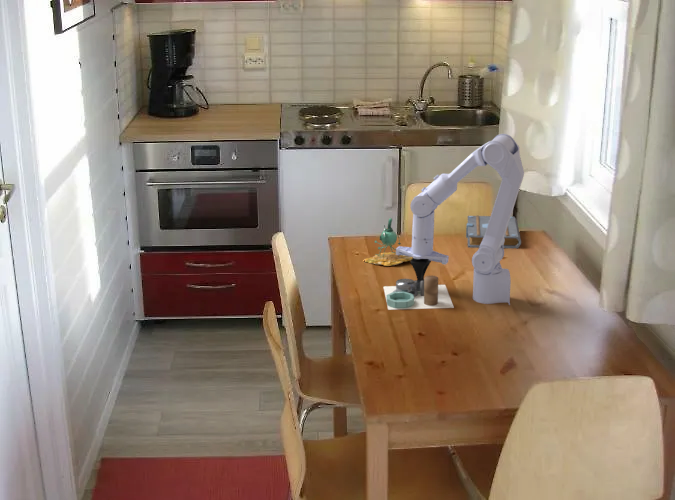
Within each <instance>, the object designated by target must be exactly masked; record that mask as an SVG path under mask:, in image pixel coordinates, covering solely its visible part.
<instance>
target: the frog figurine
mask: <svg viewBox="0 0 675 500" xmlns="http://www.w3.org/2000/svg"><path fill="white" fill-rule="evenodd" d="M392 222H393V218H391V217H390V218H388V223H387V228H386V225H384V226H383V231H382V232H381V234H380V235H379V241H380V242H381V243H380V242H378V240H374V243H375V244H376V243H377V244H378V245H381V246H378V247H377V249H378V250H379V253H375V254H374V256H370V257H369V258H368V257H367V258H364V259H363V261H364V260H365V262H364V263H368V264H371V265H373V264H375V265H379V266H380V265H383V267H384V266H385V267H389V266H395V265H396V266H397V265H399V264H403V262H410V263H411V260H412V259H413V257H410V256H404V255H396V248H394V247H393V246H394V245H395V244H396V243H397V240H398V243H397V244H398V246H401V245H402V243H401V242H400V240H401V239H398V238H400V236H399V235H398V234H397V233H396V231H394V230H393V227H392ZM387 247H389V248H390V251H391V252H386V250H387ZM383 248H384V251H383V252H382V249H383ZM393 250H394V251H393Z"/></svg>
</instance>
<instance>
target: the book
mask: <svg viewBox="0 0 675 500" xmlns="http://www.w3.org/2000/svg"><path fill="white" fill-rule="evenodd" d="M490 217H491V215H477V214H476V215H467V223H466V228H465V229H466V233H465V234H466V235H465V237H466V239H467V248H471V249H472V248H475V249H476V248H477V249H479V247H480V244H481V242H482V240H483V238H484V236H485V233H486V230H487V227H488V223H489V220H490ZM504 239H505V241H504V245H503V248H504V249H512V250H513V249H514V248H516V249H519V248H520V246H521V245H522V239H521V234H520V228H519V225H518V220H517V218H516V217H515V216H511V217H510V220H509V223H508V226H507V230H506V233H505V236H504Z"/></svg>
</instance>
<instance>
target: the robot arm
mask: <svg viewBox="0 0 675 500" xmlns="http://www.w3.org/2000/svg"><path fill="white" fill-rule="evenodd" d="M487 165H489V166H490V167H491V168H492V169H493V170H495V171H496V172H497V173H498V175H499V176H500V178H501V181H500V184H499V188H498V192H497V196H496V199H495V201H494V204H493V207H492V210H491V214H490V216H491V217H490V220H489V223H488V227H487V230H486V233H485V236H484V238H483V240H482V242H481V244H480V247H479V248H477V249H478V250H477V251H475V253H474V254H473V255H472V257H471V265H472V267H473V285H472V299H473V301H474V302H476V303H479V304H485V305H491V304H499V303H507V304H508V305H509V306H511V303H510V301H511V280H512V279H511V274H510V273H511V272H510V269H508V268H503V267H502V265H501V261H502V259H503V258H504V256H505V248H503V245H504V241H505V239H504V236H505V233H506V230H507V226H508V223H509V220H510V217H512V214H513V211H514V207H515V205H516V201H517V198H518V195H519V193H520V192H519V191H520V188H521V186H522V182H523V179H524V177H525V171H524V165H523V163H522V158H521V155H520V146H519V145H518V143H517V141H516V140H515V139H514V138H513V136H511V135H509V134H507V133H499V134H497V135H495V137H494V138H493V139H491V140H488V142H486V143H484V144H482V145H481V146H479V147H477V148H476V149H475V150H473V152H471V153H470V154H469V155H468V156H467V157H466V158H465V159H464V160H463V161H462V162H460V164H458V165H457V166H456V167H455V168H453V170H452V171H451V172H450V173H441V174H436V175H435V176H434V177H433V181H432V182H431V183H430V184H428V185H427V187H426V186H423V188H421V192H420V193H418V195H416V196H414V197H413V199H412V200H411V202H410V211H411V212H412V226H411V227H412V229H411V246H401V245H398V246H397V247H396V248H395V249H396V250H395V252H396V255H404V256H410V257H413V259H412V260H411V262H410V264H411V266H412V269H413V271H414V273H415V275H416V276H415V277H416V280H423V279H424V277H425V274H426V272H427V269H428V268H429V266H430V263H431V262H436V263H441V264H442V265H447V264H449V255H447V254H443V253H441V252H438V251H435V250H434V234H435V233H434V232H435V231H434V230H435V210H436V209H437V208H438V206H440V205H441V204H443V203H444V202H445V201H446V200H447V199H448V198H450V197H451V196H452V195H453V194H454V193H455V192H456V191H457V190H458V183H459V182H460V181H461V180H462V179H464V178H465V177H466V176H468V175H469V173H471V172H472V171H473V170H475V169H476V168H477V167H486V166H487Z"/></svg>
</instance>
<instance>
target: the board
mask: <svg viewBox="0 0 675 500" xmlns="http://www.w3.org/2000/svg"><path fill="white" fill-rule="evenodd" d="M383 291H384V296H385V301H386V303H387V295H388V294H390V293H392V292H396V285H391V286H388V285H385V286H383ZM413 296H414V304H413V305H412V306H411V307H408V308H393V307H390V306H388V305H387V304H386V306H387V310H388V311H390V310H393V311H394V310H421V309H424V310H425V309H426V310H427V309H454V308H455V307H454V304H453V302H452V299H451V296H450V293H449V291H448V288H447V286H446V284H438V304H437V305H434V306H429V305H425V304H424V281H421V291H415V293H414V294H413Z"/></svg>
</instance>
